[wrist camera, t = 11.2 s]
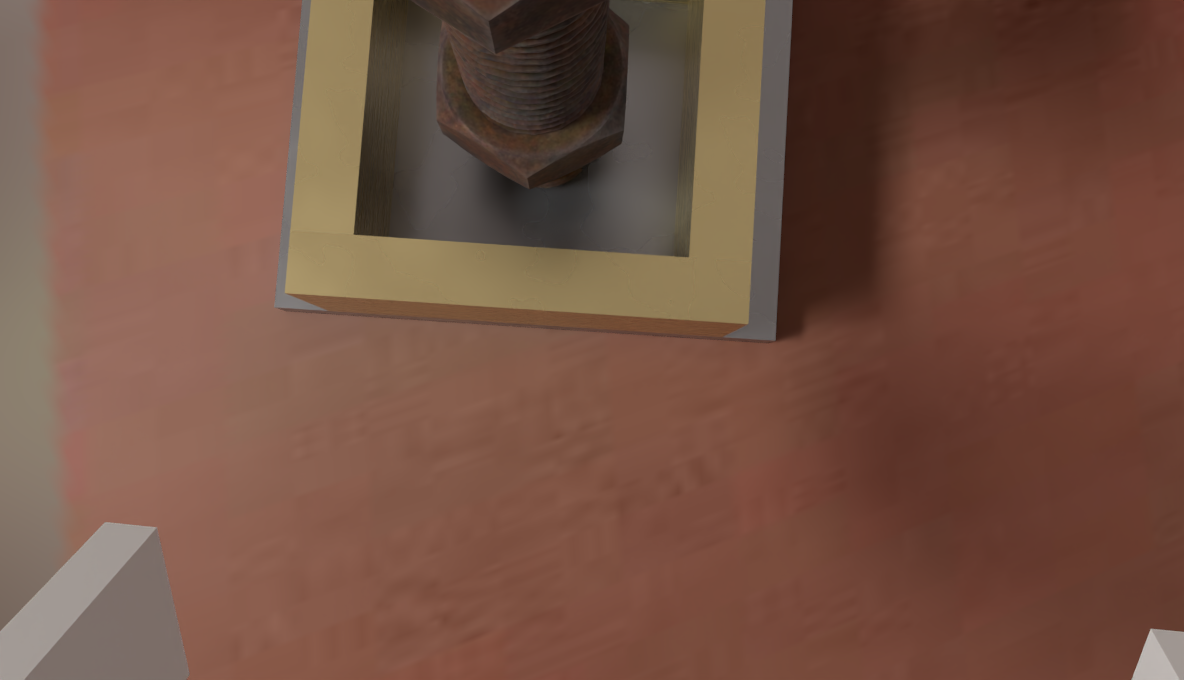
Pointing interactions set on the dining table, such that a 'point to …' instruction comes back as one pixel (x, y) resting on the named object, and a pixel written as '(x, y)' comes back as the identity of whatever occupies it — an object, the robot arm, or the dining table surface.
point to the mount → (542, 215)
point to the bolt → (531, 83)
